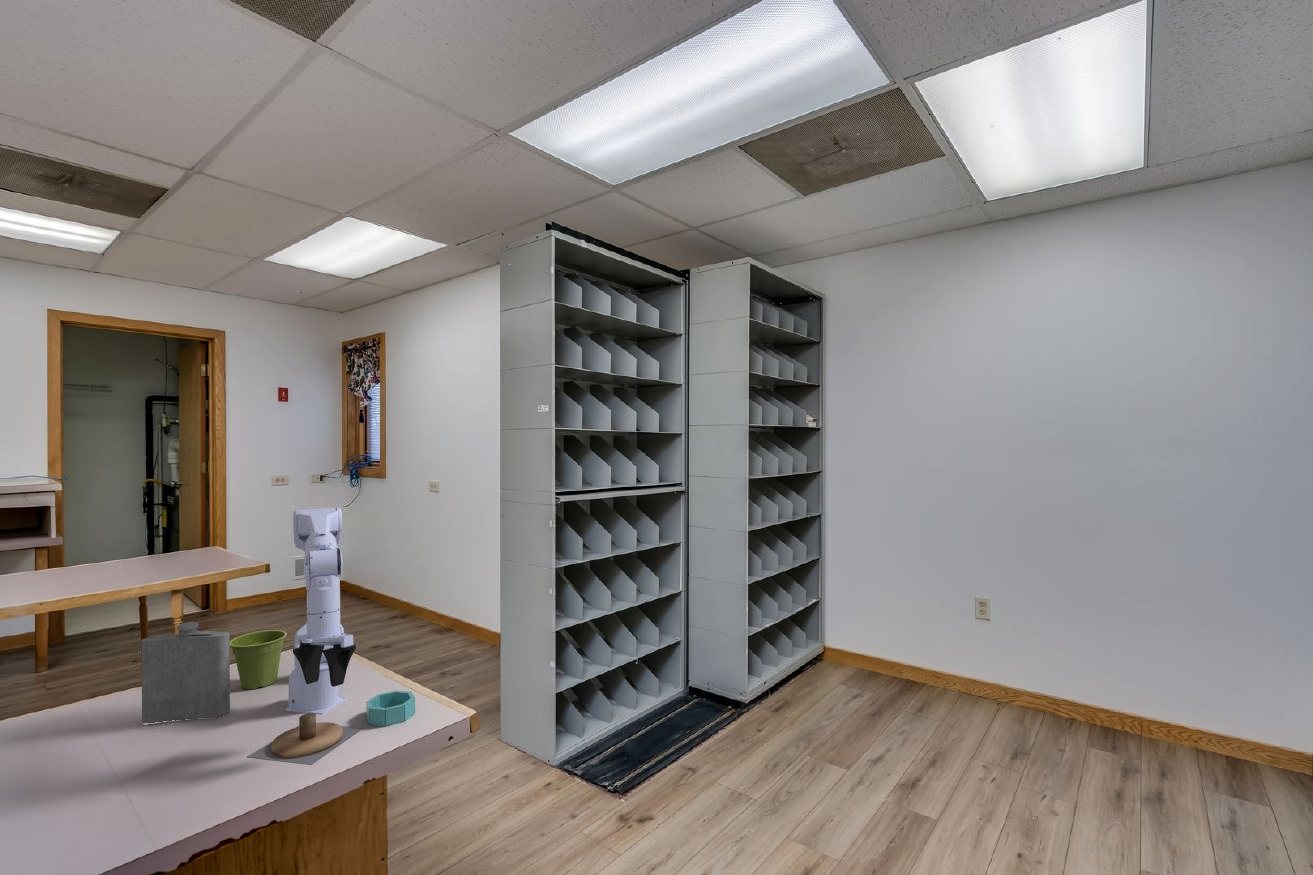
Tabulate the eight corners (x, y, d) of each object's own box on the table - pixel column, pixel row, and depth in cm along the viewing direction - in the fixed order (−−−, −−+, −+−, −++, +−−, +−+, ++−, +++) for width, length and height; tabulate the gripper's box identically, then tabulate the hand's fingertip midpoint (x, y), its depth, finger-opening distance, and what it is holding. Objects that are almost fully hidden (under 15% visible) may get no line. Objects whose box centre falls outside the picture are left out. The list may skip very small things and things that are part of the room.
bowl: (357, 726, 126) (357, 707, 126) (385, 707, 135) (385, 689, 135) (396, 730, 124) (396, 710, 124) (422, 710, 133) (422, 692, 133)
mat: (246, 758, 113) (246, 756, 113) (304, 724, 127) (304, 722, 127) (311, 766, 110) (311, 764, 110) (363, 730, 124) (363, 728, 124)
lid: (255, 754, 114) (255, 727, 114) (304, 724, 125) (304, 700, 125) (311, 761, 111) (311, 733, 111) (356, 729, 123) (355, 705, 123)
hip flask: (138, 726, 126) (137, 629, 126) (149, 717, 130) (149, 623, 130) (226, 717, 130) (225, 623, 130) (234, 709, 134) (233, 618, 134)
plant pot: (241, 677, 152) (240, 631, 152) (294, 672, 155) (293, 628, 155) (219, 696, 141) (219, 647, 141) (277, 691, 143) (276, 643, 143)
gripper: (280, 615, 119) (280, 687, 117) (328, 616, 112) (329, 692, 111) (315, 608, 125) (315, 677, 123) (362, 609, 118) (363, 681, 117)
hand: (324, 683), depth 117 cm, fingers open, 7 cm apart
